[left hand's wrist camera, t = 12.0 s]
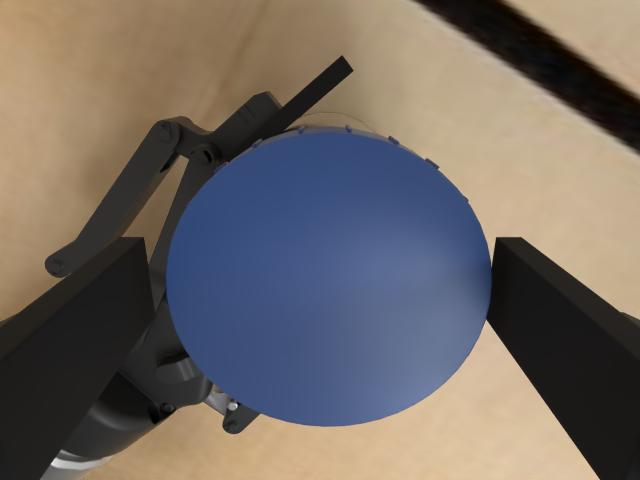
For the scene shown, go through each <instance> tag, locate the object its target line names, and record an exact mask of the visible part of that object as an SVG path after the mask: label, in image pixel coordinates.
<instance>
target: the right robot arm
mask: <svg viewBox="0 0 640 480" xmlns="http://www.w3.org/2000/svg"><path fill="white" fill-rule="evenodd" d="M353 71H354V70H353V69H352V68H351V66H350V65H349V64H348V62H347V61H346V60H345V58H344V57H343V55H342V56H341V57H339V58H338V59H337V60H336V61H335V62H334V63H333V64H332V65H330V66H329V67H328V68H327V69H326V70H325V71H324V72H322V73H321V74H320V75H319V76H318V77H317V78H316V79H314V80H313V81H312V82H311V83H310V84H309V85H308V86H306V87H305V88H304V89H303V90H302V91H301V92H300V93H298V94H297V95H296V96H295V97H294V98H293V99H292V100H290V101H289V102H288V103H287V104H286V105H285V106H284V107H282V106H281V105H280V103H279V102H278V101H277V100H276V99H275V97H274V96H273V95H272V94H271V92H270V91H267V92H263V93H260V94H257V95H254V96H253V97H252V98H251V99H250V100H248V101H247V102H246V103H245V104H244V105H243V106H242V107H241V108H240V109H238V110H237V111H236V112H235V113H234V114H233V115H232V116H231V117H230V118H228V119H227V120H226V121H225V122H224V123H223V124H222V125H221V126H220V127H218V128H217V129H216V130H215V131H213V132H210V131H206V130H203V129H202V128H200V127H198V126H196V125H195V124H193V122H192V121H191V120H190V119H189V118H187V117H183V116H179V117H175V118H170V119H165V120H161V121H158V122H157V123H156V124H155V125H154V126H153V127H152V128H151V130H150V131H149V133H148V134H147V136H146V137H145V139H144V140H143V142H142V143H141V145H140V146H139V148H138V149H137V151H136V152H135V153H134V155H133V156H132V158H131V159H130V161H129V162H128V164H127V165H126V167H125V168H124V170H123V171H122V173H121V174H120V176H119V177H118V178H117V180H116V181H115V183H114V184H113V186H112V187H111V189H110V190H109V192H108V193H107V195H106V196H105V198H104V199H103V200H102V202H101V203H100V205H99V206H98V208H97V209H96V211H95V212H94V214H93V215H92V217H91V218H90V220H89V221H88V223H87V224H86V225H85V227H84V228H83V230H82V231H81V233H80V234H79V236H78V237H77V239H76V240H75V241H73V242H71V243H70V244H68V245H66V246H65V247H63V248H62V249H60V250H58V251H57V252H55V253H54V254H52V255H50V256H49V257H48V258H47V259H46V261H45V268H46V269H47V271H48V272H49V273H50V274H51V275H52V276H55V277H59V278H62V277H65V276H67V275H70V274H71V273H72V272H74V271H75V270H76V269H77V268H79V267H80V266H81V265H83V264H84V263H85V262H87V261H88V260H89V259H91V258H92V257H93V256H95V255H96V254H97V253H99V252H100V251H101V250H103V249H104V248H105V247H107V246H108V245H109V244H111V243H112V242H113V241H115V240H116V239H117V238H118V237H121V236H122V235H123V234H124V233H125V231H126V230H127V229H128V227H129V226H130V224H131V223H132V222H133V220H134V219H135V218H136V216H137V215H138V213H139V212H140V211H141V209H142V208H143V206H144V205H145V204H146V202H147V201H148V199H149V198H150V197H151V195H152V194H153V193H154V191H155V190H156V188H157V187H158V186H159V184H160V183H161V181H162V180H163V179H164V177H165V176H166V174H167V173H168V172H169V170H170V169H171V167H172V166H173V165H174V163H175V162H176V161H177V159H178V158H179V156H180V155H182V156H184V157H186V158H188V159H189V162H188V164H187V167H186V170H185V172H184V175H183V177H182V180H181V182H180V185H179V188H178V190H177V193H176V195H175V198H174V201H173V203H172V206H171V208H170V211H169V214H168V216H167V219H166V221H165V224H164V227H163V229H162V232H161V234H160V237H159V240H158V242H157V245H156V247H155V250H154V253H153V255H152V258H151V260H150V263H149V265H148V268H149V275H150V282H151V288H152V295H153V302H154V308H155V315H156V317H155V318H154V320H153V321H152V322H151V324H150V325H149V327H148V328H147V330H146V331H145V332H144V334H143V335H142V337H141V338H140V339H139V341H138V342H137V344H136V345H135V346H134V348H133V349H132V351H131V352H130V353H129V355H128V356H127V358H126V359H125V361H124V362H123V363H122V365H121V366H120V368H119V369H118V370H117V372H116V373H115V375H114V376H113V377H112V379H111V380H110V382H109V383H108V384H107V386H106V387H105V389H104V390H103V392H102V393H101V394H100V396H99V397H98V399H97V400H96V401H95V403H94V404H93V406H92V407H91V408H90V410H89V411H88V413H87V414H86V415H85V417H84V418H83V420H82V421H81V422H80V424H79V425H78V427H77V428H76V430H75V431H74V432H73V434H72V435H71V437H70V438H69V439H68V441H67V442H66V444H65V445H64V446H63V448H62V449H61V451H60V452H59V453H58V455H57V456H56V458H55V459H54V461H53V462H52V463H51V465H50V466H49V468H48V469H47V470H46V472H45V473H44V475H43V476H42V477H41V479H40V480H82V479H83V478H85V477H86V476H88V475H89V474H91V473H92V472H93V471H95V470H96V469H98V468H99V467H101V466H102V465H104V464H105V463H107V462H108V461H110V460H111V459H112V458H113V457H114V456H115V455H117V454H118V453H119V452H121V451H123V450H124V449H126V448H127V447H128V446H130V445H131V444H133V443H134V442H135V441H137V440H138V439H140V438H141V437H142V436H144V435H145V434H147V433H148V432H149V431H151V430H152V429H154V428H155V427H156V426H158V425H159V424H161V423H162V422H163V421H164V420H166V419H167V418H168V417H169V416H170V415H172V414H173V413H174V412H175V411H176V410H178V409H179V408H182V407H185V406H189V405H196V404H199V403H202V402H204V403H206V404H207V405H209V406H210V407H212V408H213V409H215V410H216V411H218V412H219V413H221V414H222V415H224V416H225V417H224V420H223V425H222V426H223V429H224V430H225V431H226V432H228V433H230V434H237V433H240V432H241V431H242V430H244V429H245V428H246V427H247V426H248V425H249V424H250V423H251V422H252V421H253V420H254V419H255V418H256V417H257V416H258V415H259V414H261V413H259V412H257V411H254V410H252V409H250V408H248V407H247V406H245V405H243V404H241V403H239V402H237V401H236V400H234V399H233V398H231V397H230V396H229V395H227V394H226V393H224V392H223V391H221V390H220V389H219V388H218V387H217V386H216V385H215V384H214V383H212V382H211V381H210V380H209V379H208V378H207V377H206V376H205V375H204V374H203V373H202V371H201V370H200V369H199V368H198V367H197V366H196V365H195V363H194V362H193V360H192V359H191V357H190V356H189V354H188V353H187V352H186V350H185V349H184V347H183V345H182V343H181V341H180V339H179V337H178V335H177V333H176V330H175V327H174V324H173V321H172V318H171V315H170V311H169V306H168V301H167V295H166V267H167V257H168V253H169V249H170V245H171V241H172V237H173V235H174V232H175V230H176V227H177V225H178V223H179V220H180V218H181V216H182V215H183V213H184V211H185V210H186V208H187V207H186V205H187V204H188V203H189V202H190V201H191V200H192V199H193V198H194V196H195V195H196V194H197V193H198V191H199V190H200V189H201V188H202V187H203V185H204V184H205V183H206V182H207V181H208V180H209V179H211V178H212V177H213V176H214V175H215V173H214V172H213V171H214V170H216V169H217V168H218V167H219V166H221V165H222V164H223V163H227V161H228V163H229V162H230V161H232V160H233V159H234V158H235V157H237V156H238V155H240V154H241V153H243V152H244V151H246V150H247V149H249V148H250V147H252V145H253V144H254V143H255V142H256V141H257V140H259V139H262V141H264V140H266V139H268V138H271V137H274V136H277V135H279V134H281V133H282V132H283V131H284V130H285V129H286V128H288V127H289V126H290V125H291V124H292V123H293V122H295V121H296V120H297V119H298V118H299V117H300V116H302V115H303V114H304V113H305V112H306V111H307V110H309V109H310V108H311V107H312V106H313V105H314V104H316V103H317V102H318V101H319V100H320V99H321V98H322V97H324V96H325V95H326V94H327V93H328V92H329V91H331V90H332V89H333V88H334V87H335V86H336V85H338V84H339V83H340V82H341V81H342V80H343V79H345V78H346V77H347V76H348V75H349V74H350V73H352V72H353Z"/></svg>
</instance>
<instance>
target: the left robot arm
mask: <svg viewBox="0 0 640 480" xmlns="http://www.w3.org/2000/svg"><path fill="white" fill-rule="evenodd" d="M491 271H492V288H491V298H490V305H489V309H488V313H487V317H486V320H487V321H488V322H489V324H490V325H491V327H492V328H493V330H494V331H495V332H496V334H497V335H498V337H499V338H500V339H501V341H502V342H503V344H504V345H505V346H506V348H507V349H508V351H509V352H510V353H511V355H512V356H513V358H514V359H515V361H516V362H517V363H518V365H519V366H520V368H521V369H522V370H523V372H524V373H525V375H526V376H527V377H528V379H529V380H530V382H531V383H532V384H533V386H534V387H535V389H536V390H537V392H538V393H539V394H540V396H541V397H542V399H543V400H544V401H545V403H546V404H547V406H548V407H549V408H550V410H551V411H552V413H553V414H554V415H555V417H556V418H557V420H558V421H559V423H560V424H561V425H562V427H563V428H564V430H565V431H566V432H567V434H568V435H569V437H570V438H571V439H572V441H573V442H574V444H575V445H576V446H577V448H578V449H579V451H580V452H581V453H582V455H583V456H584V458H585V459H586V461H587V462H588V463H589V465H590V466H591V468H592V469H593V470H594V472H595V473H596V475H597V476H598V477H599V479H600V480H640V320H639V319H637V318H634V317H632V316H630V315H628V314H626V313H624V312H619V311H618V310H617V309H615V308H614V307H613V306H611V305H610V304H609V303H607V302H606V301H605V300H603V299H602V298H601V297H600V296H598V295H597V294H596V293H594V292H593V291H592V290H590V289H589V288H588V287H586V286H585V285H584V284H582V283H581V282H580V281H578V280H577V279H576V278H574V277H573V276H572V275H570V274H569V273H568V272H566V271H565V270H564V269H563V268H561V267H560V266H559V265H557V264H556V263H555V262H553V261H552V260H551V259H549V258H548V257H547V256H545V255H544V254H543V253H541V252H540V251H539V250H537V249H536V248H535V247H533V246H532V245H531V244H529V243H528V242H527V241H525V240H524V239H523V238H522V237H496V242H495V248H494V255H493V262H492V268H491ZM155 317H156V315H155V308H154V302H153V295H152V288H151V282H150V275H149V268H148V262H147V255H146V248H145V242H144V237H118V238H117V239H116V240H115V241H113V242H112V243H111V244H109V245H108V246H107V247H105V248H104V249H103V250H101V251H100V252H99V253H97V254H96V255H95V256H93V257H92V258H91V259H89V260H88V261H87V262H85V263H84V264H83V265H81V266H80V267H79V268H77V269H76V270H75V271H74V272H72V273H71V274H70V275H68V276H67V277H66V278H64V279H63V280H62V281H60V282H59V283H58V284H56V285H55V286H54V287H52V288H51V289H50V290H48V291H47V292H46V293H44V294H43V295H42V296H40V297H39V298H38V299H37V300H35V301H34V302H33V303H31V304H30V305H29V306H27V307H26V308H25V309H23V310H22V311H21V312H19V313H18V314H16V315H14V316H11V317H9V318H7V319H5V320H3V321H1V322H0V480H40V479H41V477H42V476H43V475H44V473H45V472H46V470H47V469H48V468H49V466H50V465H51V463H52V462H53V461H54V459H55V458H56V456H57V455H58V453H59V452H60V451H61V449H62V448H63V446H64V445H65V444H66V442H67V441H68V439H69V438H70V437H71V435H72V434H73V432H74V431H75V430H76V428H77V427H78V425H79V424H80V422H81V421H82V420H83V418H84V417H85V415H86V414H87V413H88V411H89V410H90V408H91V407H92V406H93V404H94V403H95V401H96V400H97V399H98V397H99V396H100V394H101V393H102V392H103V390H104V389H105V387H106V386H107V384H108V383H109V382H110V380H111V379H112V377H113V376H114V375H115V373H116V372H117V370H118V369H119V368H120V366H121V365H122V363H123V362H124V361H125V359H126V358H127V356H128V355H129V353H130V352H131V351H132V349H133V348H134V346H135V345H136V344H137V342H138V341H139V339H140V338H141V337H142V335H143V334H144V332H145V331H146V330H147V328H148V327H149V325H150V324H151V322H152V321H153V320H154V318H155Z"/></svg>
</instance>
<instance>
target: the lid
mask: <svg viewBox="0 0 640 480" xmlns="http://www.w3.org/2000/svg"><path fill="white" fill-rule="evenodd" d="M438 168H439V166H437V165H436V164H435V163H433V162H432V161H431V160H429V159H428V158H427V159H426V160H424V159H422V158H421V157H420V156H418V155H417V154H416V153H414V152H413V151H412V150H410V149H408V148H406V147H404V146H403V145H401V144H399V141H397V140H396V139H395V138H393V137H392V136H389V138H386V137H383V136H380V135H378V134H375V133H371V132H367V131H363V130H358V129H354V128H351V127H350V125H346V127H345V128H344V127H332V126H330V127H310V128H305V127H304V126H300V128H299V130H294V131H289V132H286V133H283V134H280V135H277V136H274V137H271V138H268V139H266V140H264V141H262V139H259V140H257V141H256V142H255V143H254V144H253V145H252V147H250V148H249V149H247V150H246V151H244V152H243V153H241V154H240V155H238V156H237V157H235V158H234V159H233V160H232V161H230V162H229V163H228V164H226V163H223V164H222V165H221V166H219V167H218V168H217V169H216V170H214V171H213V172H214V173H215V175H214V176H213V177H212V178H211V179H209V180H208V181H207V182H206V183H205V184H204V185H203V187H202V188H201V189H200V190H199V191H198V193H197V194H196V195H195V196H194V198H193V199H192V200H191V201H190V202H189V203H188V204H187V205H186V207H187V208H186V210H185V211H184V213H183V215H182V216H181V218H180V220H179V223H178V225H177V227H176V230H175V232H174V235H173V237H172V241H171V245H170V249H169V253H168V257H167V267H166V295H167V301H168V306H169V311H170V315H171V318H172V321H173V324H174V327H175V330H176V333H177V335H178V337H179V339H180V341H181V343H182V345H183V347H184V349H185V350H186V352H187V353H188V354H189V356H190V357H191V359H192V360H193V362H194V363H195V365H196V366H197V367H198V368H199V369H200V370H201V371H202V373H203V374H204V375H205V376H206V377H207V378H208V379H209V380H210V381H211V382H212V383H214V384H215V385H216V386H217V387H218V388H219V389H220V390H221V391H223V392H224V393H226V394H227V395H229V396H230V397H231V398H233V399H234V400H236V401H237V402H239V403H241V404H243V405H245V406H247V407H248V408H250V409H252V410H254V411H257V412H259V413H262V414H264V415H267V416H269V417H272V418H276V419H279V420H283V421H286V422H291V423H296V424H302V425H310V426H324V427H327V426H347V425H355V424H362V423H366V422H370V421H374V420H378V419H382V418H385V417H387V416H390V415H393V414H396V413H398V412H400V411H402V410H405V409H407V408H409V407H411V406H413V405H415V404H416V403H418V402H419V401H421V400H423V399H424V398H426V397H427V396H429V395H430V394H432V393H433V392H434V391H435V390H437V389H438V388H439V387H440V386H442V385H443V384H444V383H445V382H446V381H447V380H448V379H449V378H450V377H451V376H452V375H453V374H454V373H455V372H456V371H457V370H458V369H459V367H460V366H461V365H462V363H463V362H464V361H465V359H466V358H467V357H468V355H469V354H470V352H471V350H472V349H473V347H474V345H475V343H476V342H477V340H478V338H479V336H480V333H481V331H482V328H483V326H484V323H485V321H486V317H487V313H488V309H489V305H490V298H491V288H492V271H491V260H490V255H489V250H488V245H487V241H486V239H485V236H484V233H483V230H482V228H481V225H480V223H479V221H478V219H477V217H476V215H475V213H474V212H473V210H472V208H471V206H470V205H469V203H468V202H469V201H468V199H467V198H466V197H465V196H463V195H462V194H461V193H460V191H459V190H458V189H457V188H456V187H455V186H454V185H453V184H452V183H451V182H450V181H449V180H448V179H447V178H446V177H445V176H444V175H443V174H442V173H441V172H440V171H439V170H438Z"/></svg>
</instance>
